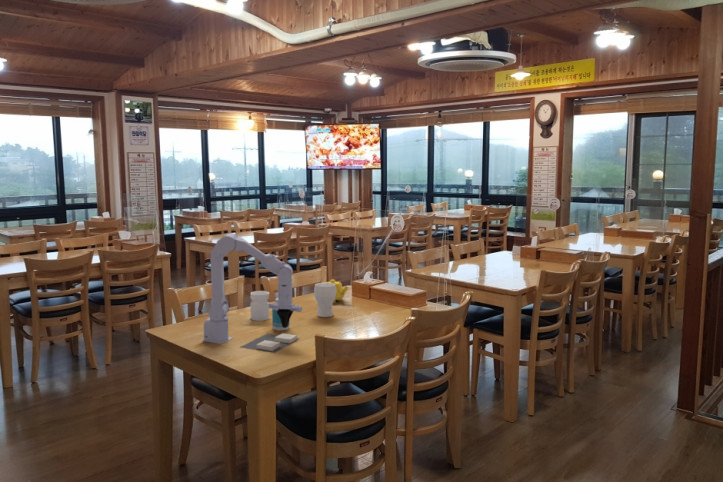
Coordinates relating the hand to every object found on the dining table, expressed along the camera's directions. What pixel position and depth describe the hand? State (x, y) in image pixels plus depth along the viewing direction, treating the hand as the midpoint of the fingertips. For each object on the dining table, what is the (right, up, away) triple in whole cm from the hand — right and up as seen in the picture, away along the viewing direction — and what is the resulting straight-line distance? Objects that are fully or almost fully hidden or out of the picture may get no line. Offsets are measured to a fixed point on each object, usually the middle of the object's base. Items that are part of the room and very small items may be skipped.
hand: (285, 327), depth 235 cm
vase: (-16, -1, +35) cm, 38 cm away
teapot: (+16, +3, +69) cm, 71 cm away
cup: (+14, -1, +41) cm, 44 cm away
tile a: (-9, -6, -8) cm, 13 cm away
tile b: (-3, -4, +2) cm, 6 cm away
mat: (-5, -6, -3) cm, 9 cm away
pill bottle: (-4, -4, +18) cm, 19 cm away
